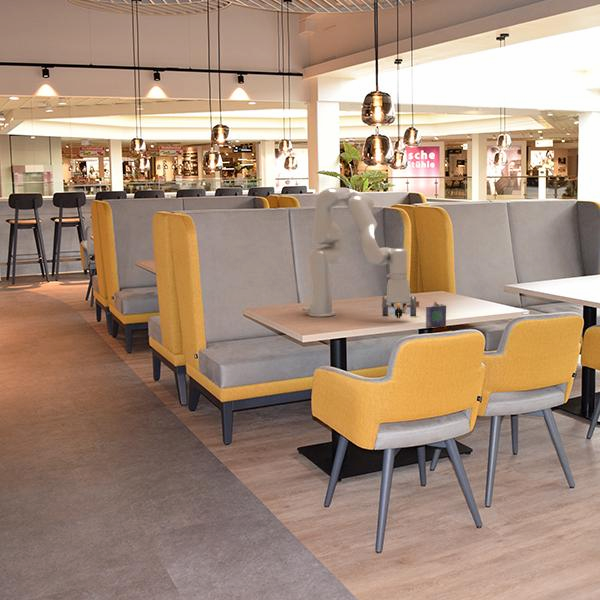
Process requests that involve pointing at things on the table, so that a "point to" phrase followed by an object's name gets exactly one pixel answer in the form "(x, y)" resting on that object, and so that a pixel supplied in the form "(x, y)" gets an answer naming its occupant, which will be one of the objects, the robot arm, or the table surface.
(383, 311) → the post left
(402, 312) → the ball
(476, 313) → the table surface
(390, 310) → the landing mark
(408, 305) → the stopper wall
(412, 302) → the post right
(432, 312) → the flask
